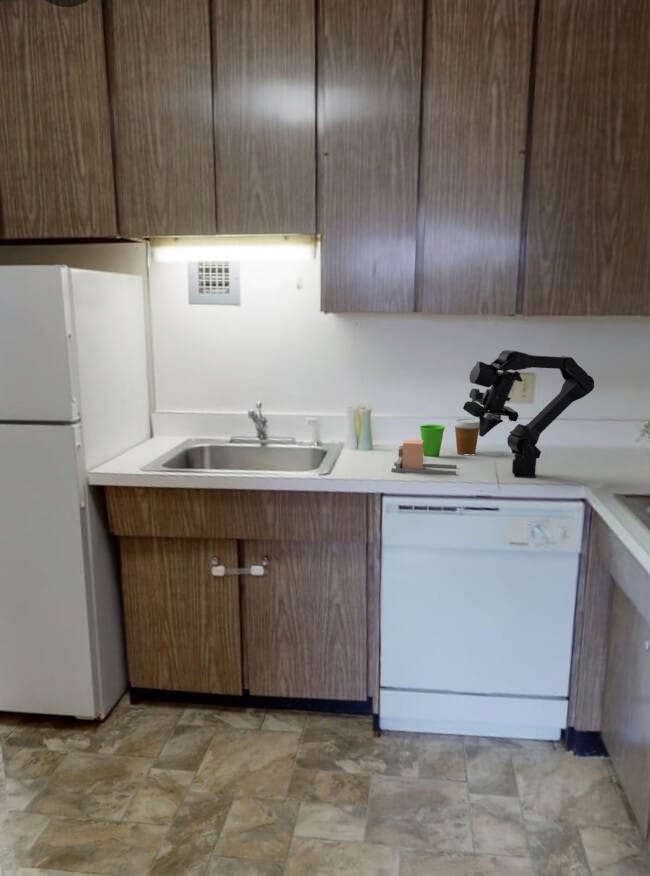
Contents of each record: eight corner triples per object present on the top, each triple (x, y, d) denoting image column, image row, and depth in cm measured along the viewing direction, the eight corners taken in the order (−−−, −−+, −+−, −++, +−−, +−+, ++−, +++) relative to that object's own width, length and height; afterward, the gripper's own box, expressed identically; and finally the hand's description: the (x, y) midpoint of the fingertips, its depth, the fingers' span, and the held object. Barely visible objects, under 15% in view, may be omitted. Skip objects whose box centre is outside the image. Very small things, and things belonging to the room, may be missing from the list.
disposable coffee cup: (447, 453, 241) (448, 421, 239) (461, 449, 248) (462, 417, 246) (471, 457, 235) (472, 423, 232) (484, 453, 242) (485, 420, 240)
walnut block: (414, 460, 231) (414, 446, 230) (413, 463, 226) (413, 449, 225) (399, 459, 232) (400, 445, 231) (398, 463, 227) (398, 448, 226)
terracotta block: (422, 467, 216) (423, 440, 214) (421, 471, 210) (422, 443, 209) (404, 466, 217) (404, 439, 216) (402, 471, 212) (402, 443, 210)
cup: (448, 456, 237) (449, 425, 235) (438, 461, 229) (439, 429, 227) (424, 453, 241) (425, 423, 239) (414, 458, 234) (415, 427, 231)
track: (456, 470, 216) (456, 459, 215) (455, 478, 206) (456, 466, 206) (394, 467, 220) (394, 456, 219) (391, 475, 210) (391, 463, 210)
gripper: (504, 383, 215) (485, 426, 220) (461, 376, 205) (443, 422, 210) (528, 397, 206) (508, 442, 212) (484, 391, 196) (464, 438, 202)
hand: (480, 435), depth 209 cm, fingers closed
